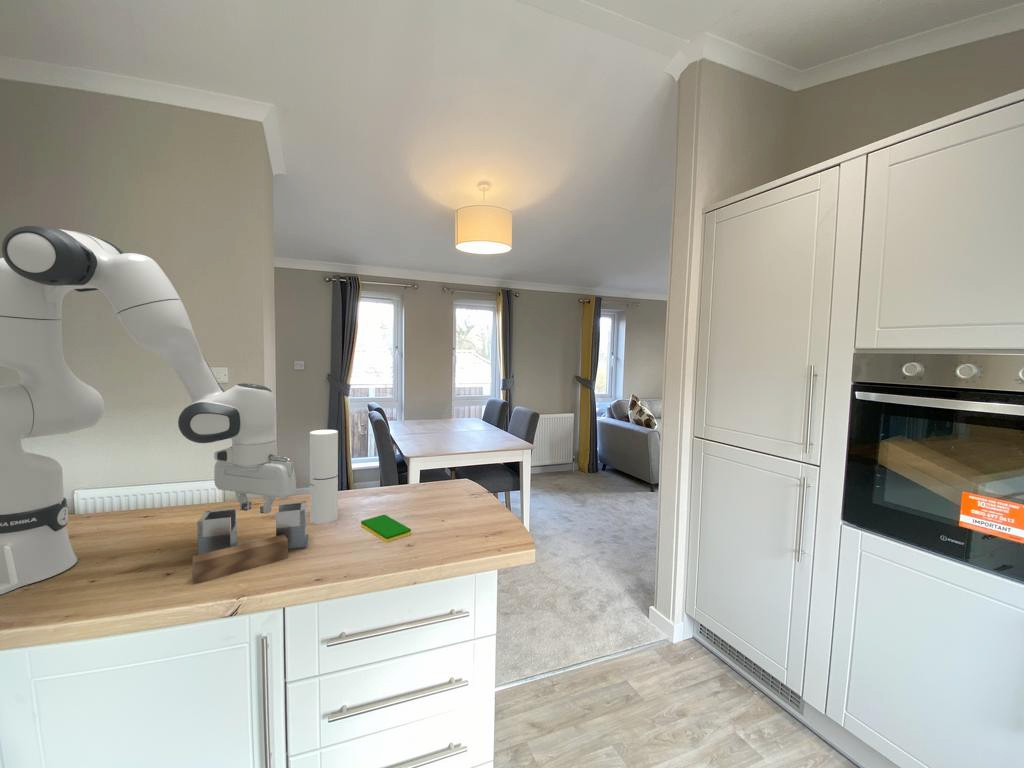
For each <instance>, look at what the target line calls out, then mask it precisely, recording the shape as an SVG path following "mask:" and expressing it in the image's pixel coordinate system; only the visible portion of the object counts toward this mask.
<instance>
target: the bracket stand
mask: <svg viewBox="0 0 1024 768" xmlns="http://www.w3.org/2000/svg"><path fill="white" fill-rule="evenodd" d="M196 523H197V524H196V525H197V526H196V527H197V555H200V554H204V553H208V552H212V551H216V550H221V549H225V548H229V547H233V546H237V545H242V544H246V543H250V542H251V541H245V542H239V543H238V536H237V535H238V530H237V529H238V527H237V526H238V525H237V523H238V522H237V507H233V508H224V509H215V510H214V509H213V510H206V511H204V512H203V514H202V516H201V517H200V518H199V520H198V521H197V522H196ZM283 534H284V535H285V536H286V538H287V539H288V552H290V551H297V550H298V551H299V550H302V549H303V550H305V549H308V545H309V538H310V536H309V535H310V534H308V533H307V500H304V501H295V502H284V503H279V504H278V511H277V512H275V536H279V535H283ZM254 541H255V540H254ZM254 541H252V542H254Z"/></svg>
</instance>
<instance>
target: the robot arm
mask: <svg viewBox="0 0 1024 768" xmlns="http://www.w3.org/2000/svg"><path fill="white" fill-rule="evenodd" d="M1 253H2V257H0V367H3V368H6V369H10V370H11V371H16V372H17V374H18V375H19V379H20V380H19V383H16V384H7V385H3V384H0V595H4V594H6V593H8V592H11V591H13V590H14V591H15V590H16V589H19V588H20V587H24V586H27V585H30V584H33V583H37V582H41V581H43V580H46V579H49V578H52V577H54V576H56V575H59V574H61V573H64V572H65V571H67V570H68V569H70V568H72V567H73V566H74V565H75V564H76V563H77V562H78V557H77V556H76V554H75V552H74V549H73V546H72V545H71V541H70V538H69V537H70V536H69V533H68V527H67V525H68V521H69V520H68V519H69V510H68V503H67V501H68V500H67V498H66V497H65V496H64V475H63V467H62V465H61V464H60V462H58V460H56V459H55V458H52V457H50V456H45V455H41V454H39V453H38V454H37V453H34V452H33V453H32V452H27V451H25V450H24V449H23V447H22V440H24V439H29V438H39V437H47V436H55V435H64V434H70V433H73V432H78V431H81V430H85V429H88V428H91V427H94V426H96V425H97V424H98V423H99V422H100V420H101V419H102V418H103V416H104V413H105V409H106V407H105V405H106V404H105V401H104V398H103V396H102V395H101V394H100V392H99V391H98V390H97V389H96V388H95V387H93V386H91V385H89V384H87V383H85V382H84V381H82V380H81V379H80V378H79V377H77V376H76V375H75V374H74V372H73V371H72V370H71V369H70V367H69V366H68V363H67V361H66V359H65V355H64V351H63V350H64V349H63V337H62V336H63V335H62V334H63V333H62V332H63V329H62V326H63V325H62V323H63V322H62V321H63V320H62V318H63V316H62V315H63V313H62V311H63V308H62V306H63V305H62V304H63V300H64V298H65V296H66V294H68V293H69V292H70V291H73V290H74V291H76V292H80V293H84V292H90V291H100V292H101V293H103V294H104V296H106V298H107V299H108V301H109V303H110V305H111V306H112V308H113V310H114V312H115V314H116V316H117V318H118V320H119V321H120V323H121V325H122V326H123V328H124V330H125V332H127V334H128V335H129V336H130V338H132V340H133V341H134V342H135V343H136V344H137V345H138V346H139V347H141V348H143V349H145V350H147V351H148V352H151V353H153V354H154V355H156V356H158V357H160V358H161V359H162V360H164V361H165V362H166V363H167V364H169V365H170V366H171V368H172V369H173V370H174V372H175V374H176V375H177V377H178V378H179V380H180V382H181V383H182V385H183V387H184V388H185V390H186V391H187V394H188V396H189V398H190V400H191V403H190V404H189V405H188V406H186V407H185V408H184V409H183V410H182V411H181V413H180V414H179V416H178V420H177V421H178V422H177V423H178V429H179V431H180V433H181V434H182V436H183V437H185V438H186V439H187V440H189V441H190V442H193V443H196V444H211V443H216V442H219V441H224V440H225V441H226V440H228V439H231V441H232V442H231V444H232V445H231V446H230V447H227V448H223V449H220V450H217V451H215V452H214V453H213V455H214V456H213V457H214V460H215V461H216V462H215V464H214V470H213V473H214V474H213V480H214V486H215V487H216V489H218V490H220V491H227V492H233V493H234V492H235V498H236V500H237V501H238V503H239V510H240V511H244V512H246V511H249V510H251V509H252V501H250V500H249V498H248V496H247V494H249V495H258V496H263V500H264V503H263V504H262V505H260V506H259V509H260V511H259V513H260V514H263V515H264V514H265V515H267V514H270V513H271V512H272V505H273V503H274V502H275V499H277V498H279V499H286V498H288V497H290V496H292V495H294V494H295V493H296V491H297V481H296V480H297V479H296V473H295V469H294V463H293V461H292V460H291V459H289V457H288V456H285V455H284V456H283V455H282V456H281V455H278V452H277V451H278V449H277V448H278V447H277V446H278V445H277V435H276V429H275V427H276V424H277V403H276V399H275V398H276V397H275V394H274V392H273V391H272V390H271V389H270V388H268V387H267V386H264V385H260V384H255V383H245V382H244V383H243V382H241V383H237V384H235V385H234V386H233V387H231V388H229V389H226V390H224V389H223V388H222V386H221V385H220V384H219V382H218V380H217V378H216V376H215V375H214V373H213V370H212V369H211V367H210V365H209V364H208V362H207V360H206V358H205V356H204V355H203V353H202V350H201V348H200V345H199V342H198V340H197V337H196V335H195V332H194V329H193V326H192V322H191V320H190V317H189V315H188V312H187V310H186V307H185V305H184V303H183V301H182V299H181V297H180V295H179V294H178V292H177V291H176V289H175V287H174V285H173V284H172V282H171V280H170V279H169V277H168V276H167V274H166V273H165V272H164V271H163V269H162V268H161V267H160V265H159V264H158V263H157V262H156V261H155V260H154V259H153V258H151V257H150V256H147V255H145V254H140V253H133V252H127V253H125V252H124V251H123V250H122V249H121V248H119V247H118V246H117V245H115V244H113V243H111V242H110V241H108V240H106V239H103V238H99V237H96V236H92V235H89V234H86V233H83V232H80V231H75V230H68V229H67V230H66V229H62V228H56V227H53V226H49V225H37V224H36V225H25V226H20V227H16V228H15V229H12V230H11V231H10V232H8V234H6V236H5V237H4V238H3V240H2V244H1Z"/></svg>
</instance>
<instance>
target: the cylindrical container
mask: <svg viewBox="0 0 1024 768" xmlns="http://www.w3.org/2000/svg"><path fill="white" fill-rule="evenodd" d="M338 519H339V431H338V430H337V429H319V430H318V429H317V430H312V431H310V432H309V522H310V524H312V525H326V524H331V523H334V522H336V521H337V520H338Z"/></svg>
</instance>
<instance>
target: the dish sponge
mask: <svg viewBox="0 0 1024 768" xmlns="http://www.w3.org/2000/svg"><path fill="white" fill-rule="evenodd" d="M360 527H361V529H363V530H365V531H367V532H368V533H370V534H371V535H373V536H375V537H377V539H380V540H381V541H383V542H384V543H390V542H394V541H397V540H400V539H403V538H405V537H409V536H411V535H412V533H411V532H412V529H411V528H409V527H408V526H406V525H404V524H402V522H401V523H400V522H399V521H397V520H395V519H394V518H392V517H390V516H388V515H386V514H380V515H378V516H374V517H370V518H367V519H363V520H361V521H360Z"/></svg>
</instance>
